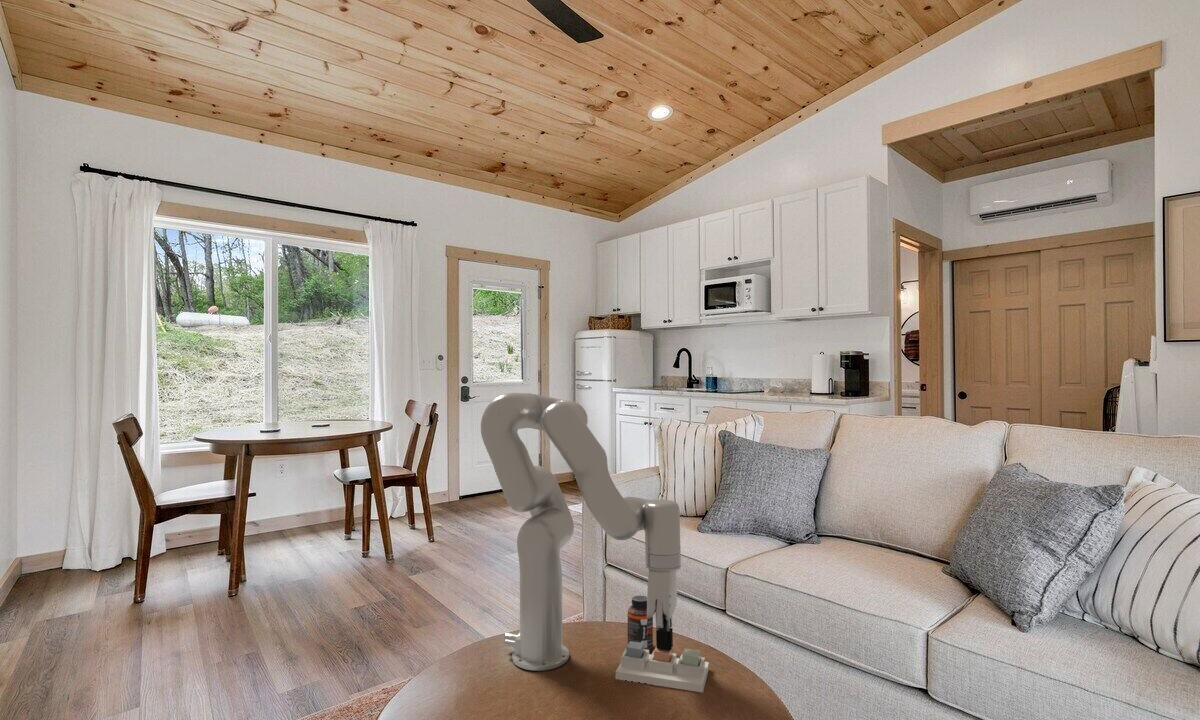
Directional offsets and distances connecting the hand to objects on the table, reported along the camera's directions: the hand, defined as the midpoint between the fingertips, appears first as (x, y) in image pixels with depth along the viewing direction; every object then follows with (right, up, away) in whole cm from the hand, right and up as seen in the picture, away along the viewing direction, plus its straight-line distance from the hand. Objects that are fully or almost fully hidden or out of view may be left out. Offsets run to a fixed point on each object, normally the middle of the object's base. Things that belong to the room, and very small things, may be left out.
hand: (664, 647), depth 122 cm
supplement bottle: (-4, -6, +12) cm, 15 cm away
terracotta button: (0, -3, 0) cm, 3 cm away
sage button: (+5, -3, -2) cm, 6 cm away
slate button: (-6, -3, +2) cm, 7 cm away
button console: (0, -5, 0) cm, 5 cm away
